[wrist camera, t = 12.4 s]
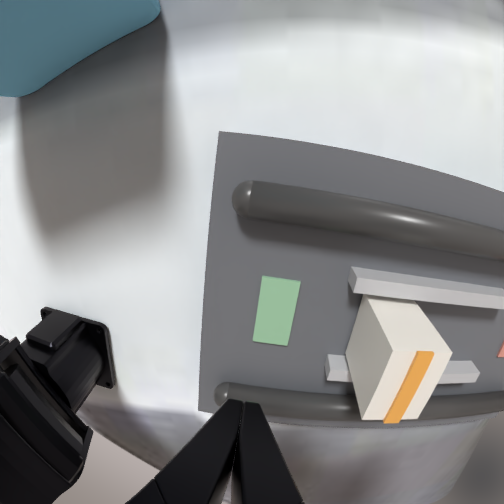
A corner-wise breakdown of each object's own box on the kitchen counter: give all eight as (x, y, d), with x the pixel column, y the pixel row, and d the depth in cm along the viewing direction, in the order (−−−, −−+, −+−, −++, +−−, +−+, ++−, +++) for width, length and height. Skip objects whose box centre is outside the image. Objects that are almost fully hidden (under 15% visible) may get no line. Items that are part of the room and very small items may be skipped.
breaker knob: (390, 357, 17) (418, 422, 12) (345, 353, 18) (362, 423, 12) (412, 297, 16) (454, 354, 11) (364, 291, 16) (394, 352, 11)
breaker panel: (485, 400, 22) (503, 429, 18) (205, 388, 23) (192, 428, 19) (559, 216, 16) (594, 230, 12) (227, 133, 17) (211, 129, 13)
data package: (154, -31, 14) (60, -128, 2) (169, 16, 15) (57, -85, 4) (20, 52, 16) (-99, 36, 4) (27, 99, 17) (-106, 100, 6)
